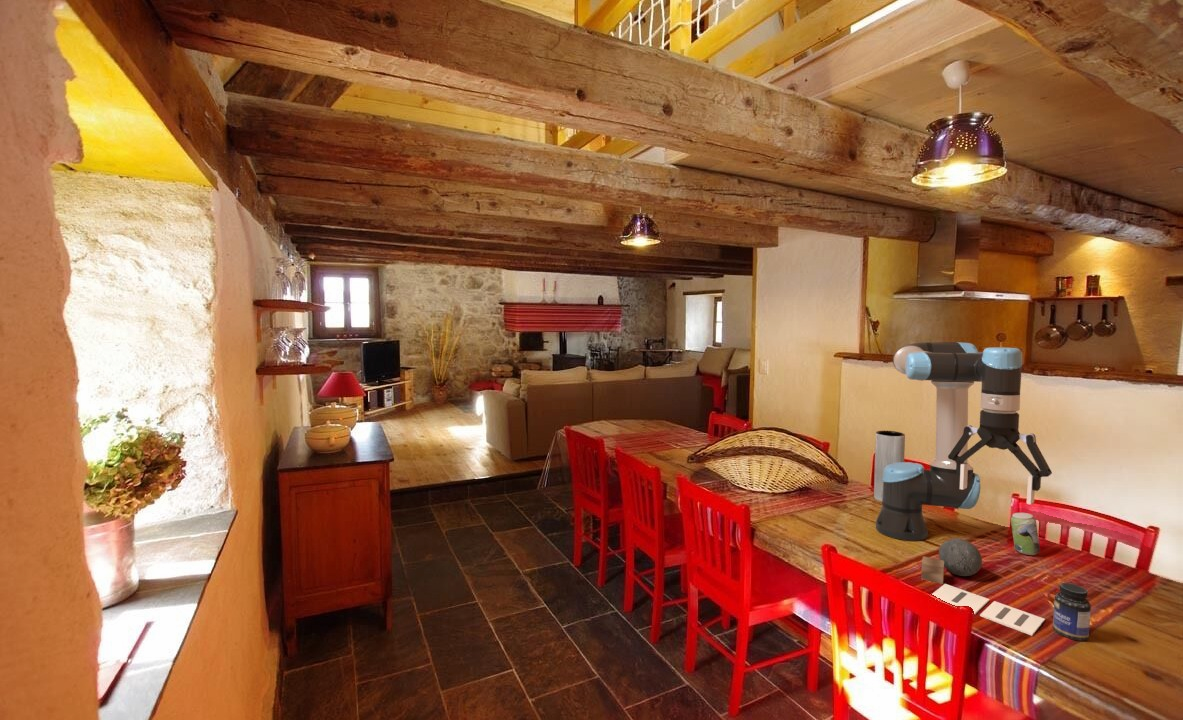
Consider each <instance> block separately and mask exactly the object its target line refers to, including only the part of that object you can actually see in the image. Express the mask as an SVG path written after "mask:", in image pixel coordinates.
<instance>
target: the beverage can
mask: <svg viewBox="0 0 1183 720" xmlns="http://www.w3.org/2000/svg"><path fill="white" fill-rule="evenodd" d="M1010 524H1011V533H1012V537H1013V544H1014V550H1015V551H1017V552H1018V553H1020V554H1022V555H1026V556H1028V555H1029V556H1034V555H1036V554H1038V553H1040V552H1041V548H1040V539H1039V534H1038V533H1039V532H1038V526H1037V525H1038V524H1037V520H1036V519H1035V518H1034V516H1033V514H1031V513H1026V512H1015V513H1012V516H1011V517H1010Z"/></svg>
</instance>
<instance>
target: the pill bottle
mask: <svg viewBox="0 0 1183 720" xmlns="http://www.w3.org/2000/svg"><path fill="white" fill-rule="evenodd" d="M1088 593H1089V592H1088V590H1087V589H1086V587H1085V588H1084V587H1083V586H1080V585H1078V584H1075V583H1071V582H1070V583H1069V582H1061V583H1059V592H1056V594H1055V595H1054V604H1053V614H1052V615H1053V618H1052V629H1053V630H1054V632H1056V633H1057V634H1058V635H1060V636H1062V637H1065V638H1067V639H1070V640H1072V641H1073V640H1074V641H1079V642H1080V641H1083V642H1084V641H1087V640H1088V639H1089V636H1090V635H1089V634H1090V626H1091V625H1090V621H1091V613H1092V611H1091V610H1092V609H1091V608H1092V605H1091V603H1090V601H1089V600H1087V598H1088V596H1089V595H1088Z"/></svg>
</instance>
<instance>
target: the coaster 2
mask: <svg viewBox="0 0 1183 720" xmlns="http://www.w3.org/2000/svg"><path fill="white" fill-rule="evenodd" d="M979 617H982V618H984V619H987V620H989V621H992V622H994V623H997V624H1000V625H1002V626H1004V627H1008V628H1009V629H1010V628H1011V629H1013V630H1016V631H1018V632H1021V633H1023V634H1027V635H1029V636H1031V637H1033V636H1034V635H1035V634H1036V632H1037V631H1038V630H1039V628H1040V627H1041V626H1042V624H1044V622H1045V621H1046V619H1045V618H1044V617H1040V616H1038V615H1035V614H1033V613H1029V612H1027V611H1024V610H1021V609H1018V608H1015V607H1012V606H1009V605H1007V604H1004V603H1002V602H998V601H996V600H994V601H993V602H991V604H989V606H987V607H986V608H985V609H984V610H983V611H982V612H981V613H980V614H979Z"/></svg>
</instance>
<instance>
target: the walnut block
mask: <svg viewBox="0 0 1183 720" xmlns="http://www.w3.org/2000/svg"><path fill="white" fill-rule="evenodd" d="M921 559H922V560H921V571H920V572H921V577H920V579H921V581H923V580H926V581H925V582H927V581H931V582H935V583H934V584H936V583H939V584H938V585H940V584H943V585H944V575H945V567H944V561H943V560H940V559H938V558H932V557H928V556H925V555H924V556H923V555H922V558H921ZM931 582H930V583H931Z"/></svg>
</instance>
